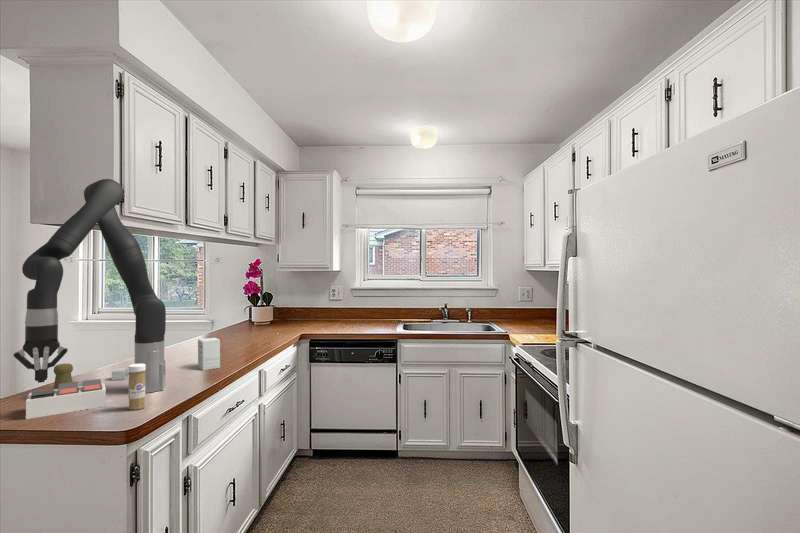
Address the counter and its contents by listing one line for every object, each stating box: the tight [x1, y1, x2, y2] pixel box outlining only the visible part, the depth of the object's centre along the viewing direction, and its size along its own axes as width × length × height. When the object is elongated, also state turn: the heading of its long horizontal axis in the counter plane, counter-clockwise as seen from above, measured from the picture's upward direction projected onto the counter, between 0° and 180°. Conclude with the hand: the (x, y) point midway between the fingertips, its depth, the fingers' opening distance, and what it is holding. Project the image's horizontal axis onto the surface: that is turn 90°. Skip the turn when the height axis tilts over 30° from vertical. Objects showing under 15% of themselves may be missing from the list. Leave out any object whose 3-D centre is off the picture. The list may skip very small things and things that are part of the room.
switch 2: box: [82, 378, 102, 392], centre depth 138 cm, size 5×7×1 cm
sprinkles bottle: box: [127, 363, 146, 411], centre depth 134 cm, size 5×5×14 cm
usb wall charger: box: [111, 367, 129, 381], centre depth 171 cm, size 4×7×4 cm, turn 103°
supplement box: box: [197, 337, 221, 371], centre depth 189 cm, size 7×7×13 cm
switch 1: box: [31, 388, 54, 396], centre depth 131 cm, size 5×7×1 cm
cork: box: [52, 363, 74, 390], centre depth 147 cm, size 6×6×11 cm
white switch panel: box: [25, 382, 107, 420], centre depth 134 cm, size 19×10×5 cm, turn 126°
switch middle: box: [58, 381, 79, 396], centre depth 134 cm, size 5×7×1 cm
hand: (41, 381), depth 129 cm, fingers closed
